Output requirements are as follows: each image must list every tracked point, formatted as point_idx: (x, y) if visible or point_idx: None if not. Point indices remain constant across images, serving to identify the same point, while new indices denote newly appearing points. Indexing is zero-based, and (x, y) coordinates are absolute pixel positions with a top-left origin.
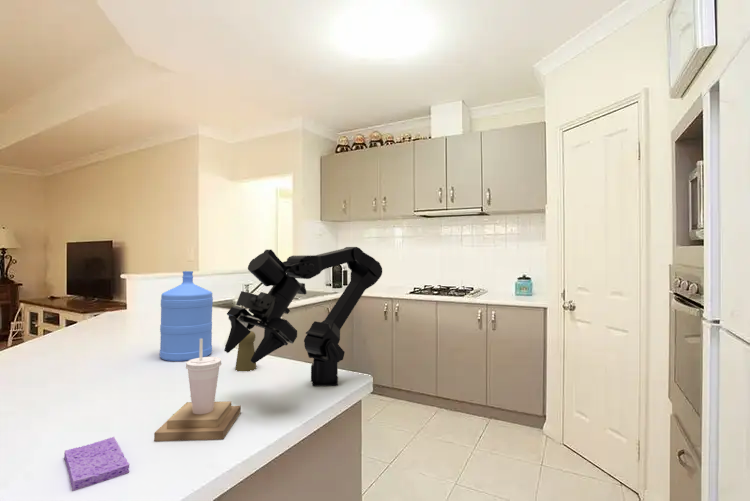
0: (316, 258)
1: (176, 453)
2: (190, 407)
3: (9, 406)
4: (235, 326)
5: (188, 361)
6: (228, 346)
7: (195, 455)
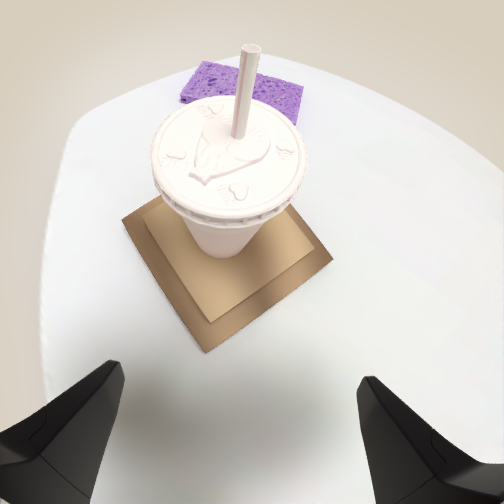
0: None
1: None
2: (270, 229)
3: (493, 165)
4: (449, 484)
5: (279, 116)
6: (371, 398)
7: (128, 165)
